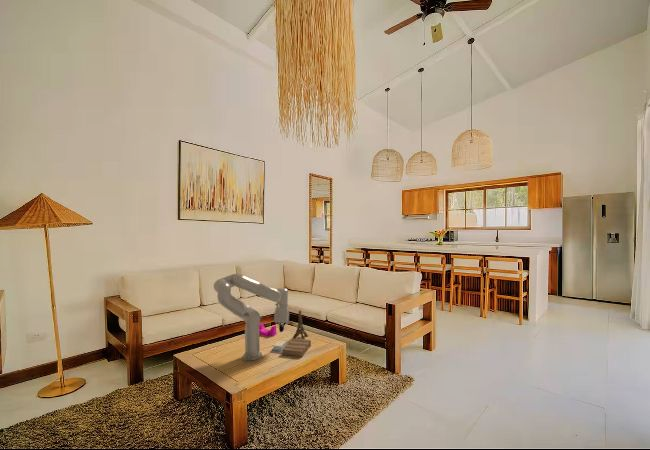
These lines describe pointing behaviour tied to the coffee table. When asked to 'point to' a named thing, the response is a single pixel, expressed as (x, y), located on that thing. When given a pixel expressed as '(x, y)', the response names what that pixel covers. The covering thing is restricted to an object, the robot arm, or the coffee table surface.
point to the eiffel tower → (300, 328)
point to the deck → (296, 347)
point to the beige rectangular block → (279, 345)
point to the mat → (277, 351)
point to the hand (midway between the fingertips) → (281, 331)
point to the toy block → (266, 332)
